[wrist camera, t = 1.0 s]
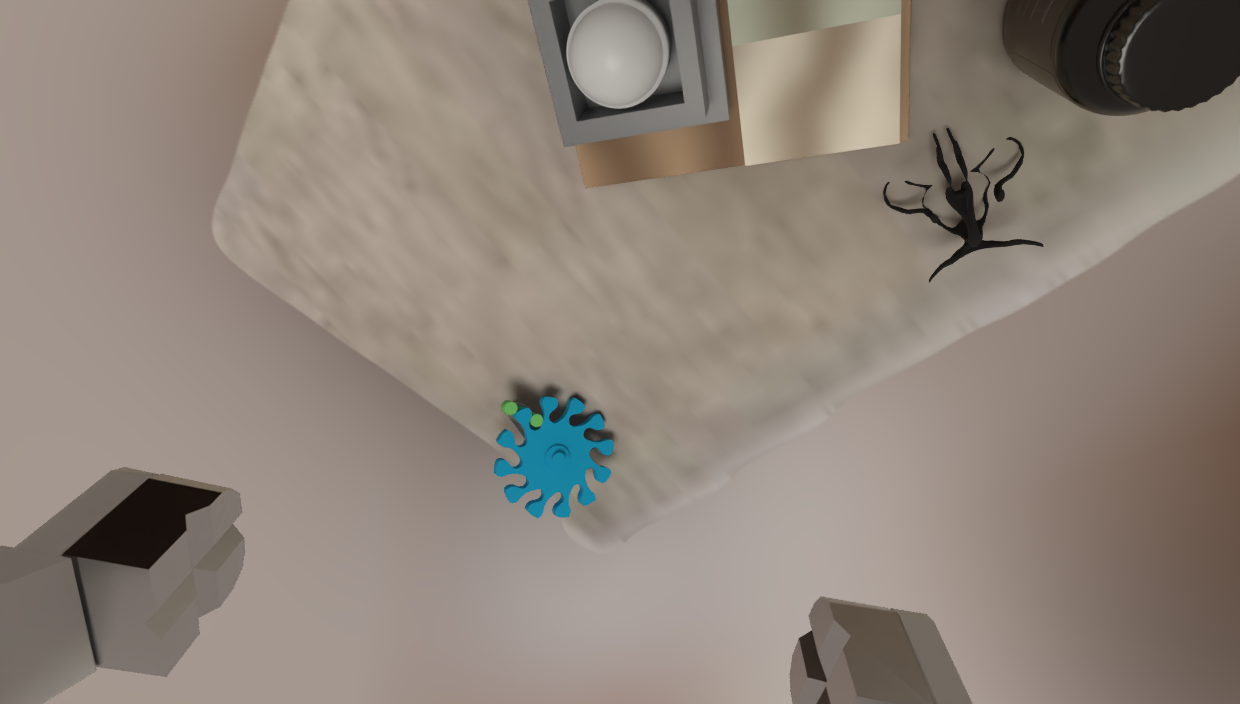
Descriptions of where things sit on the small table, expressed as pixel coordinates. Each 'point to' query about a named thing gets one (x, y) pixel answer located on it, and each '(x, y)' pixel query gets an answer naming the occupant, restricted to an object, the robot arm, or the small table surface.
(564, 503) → the blue lobed plastic figure
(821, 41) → the board
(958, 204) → the creature
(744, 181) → the small table surface
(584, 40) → the dome
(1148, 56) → the supplement bottle
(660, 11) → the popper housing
